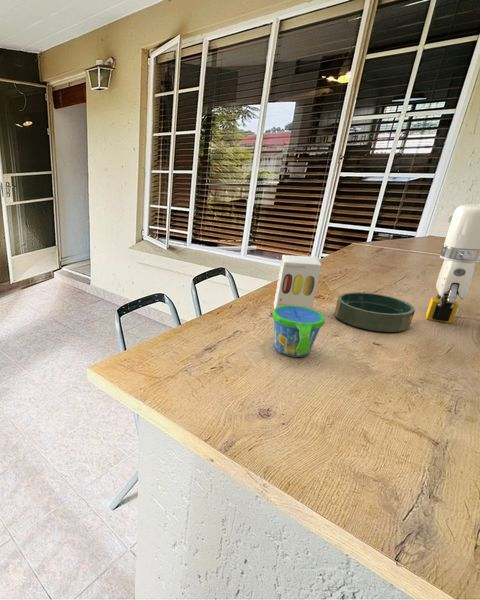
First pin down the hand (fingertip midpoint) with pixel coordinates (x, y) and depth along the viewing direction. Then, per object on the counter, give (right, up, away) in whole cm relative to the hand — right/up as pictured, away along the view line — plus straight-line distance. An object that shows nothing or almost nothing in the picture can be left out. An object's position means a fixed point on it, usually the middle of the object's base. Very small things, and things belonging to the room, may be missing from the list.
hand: (439, 316), depth 97 cm
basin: (-18, -1, +2) cm, 18 cm away
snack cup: (-48, -8, -11) cm, 50 cm away
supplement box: (-35, +1, +10) cm, 37 cm away
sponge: (0, -1, 0) cm, 1 cm away
